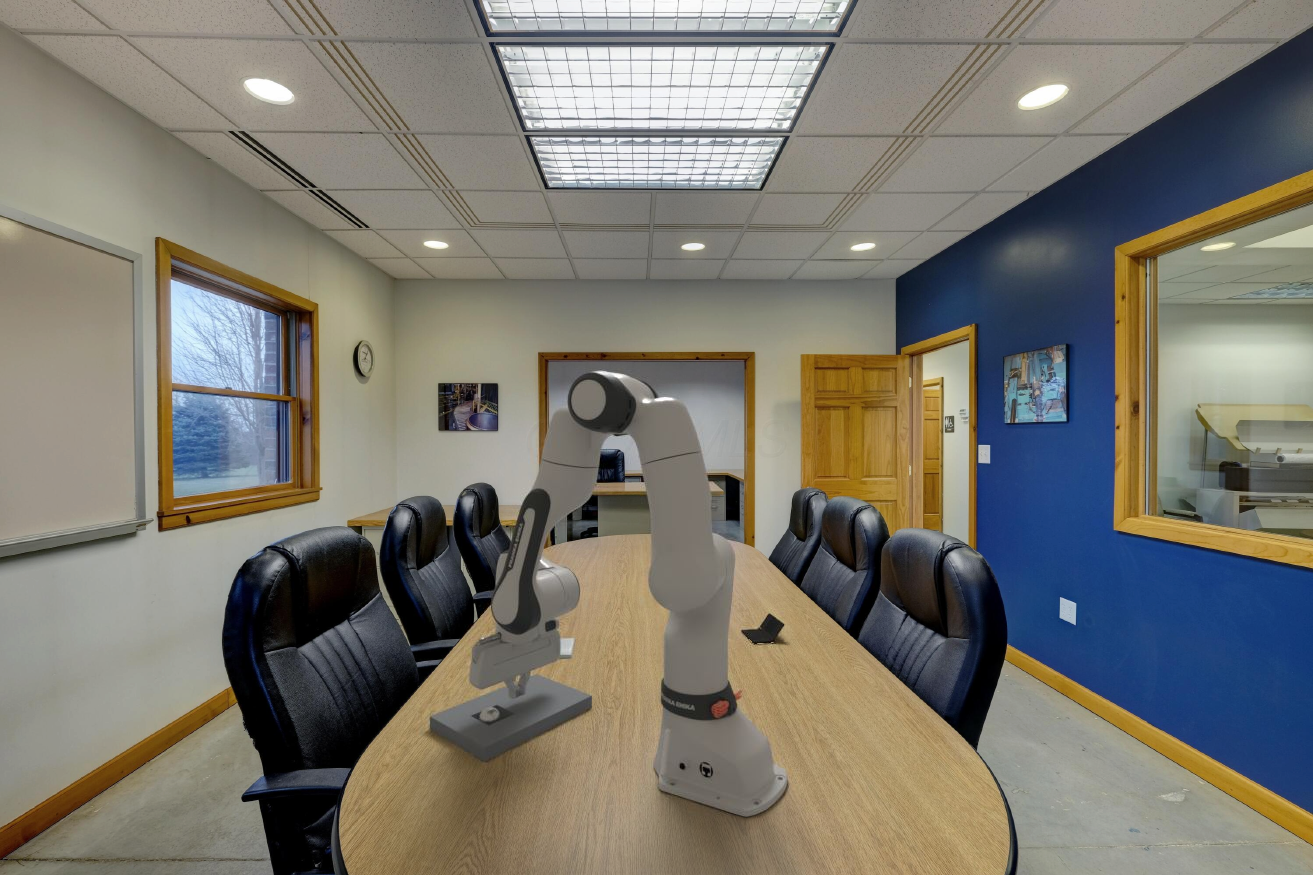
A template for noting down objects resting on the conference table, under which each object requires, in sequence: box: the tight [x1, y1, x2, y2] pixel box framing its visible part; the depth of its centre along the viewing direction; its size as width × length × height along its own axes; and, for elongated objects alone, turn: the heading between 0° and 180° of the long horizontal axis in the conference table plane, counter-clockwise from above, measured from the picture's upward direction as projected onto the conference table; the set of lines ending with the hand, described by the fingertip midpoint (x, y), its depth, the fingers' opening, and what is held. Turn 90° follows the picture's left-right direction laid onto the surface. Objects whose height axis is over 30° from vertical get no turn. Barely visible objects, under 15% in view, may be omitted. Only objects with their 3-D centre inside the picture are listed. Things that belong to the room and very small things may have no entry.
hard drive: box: [558, 637, 576, 660], centre depth 150 cm, size 2×8×12 cm
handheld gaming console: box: [740, 613, 785, 645], centre depth 160 cm, size 12×7×10 cm
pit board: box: [429, 673, 593, 763], centre depth 111 cm, size 18×26×2 cm
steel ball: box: [479, 707, 501, 725], centre depth 107 cm, size 4×4×4 cm
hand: (517, 695), depth 112 cm, fingers closed
